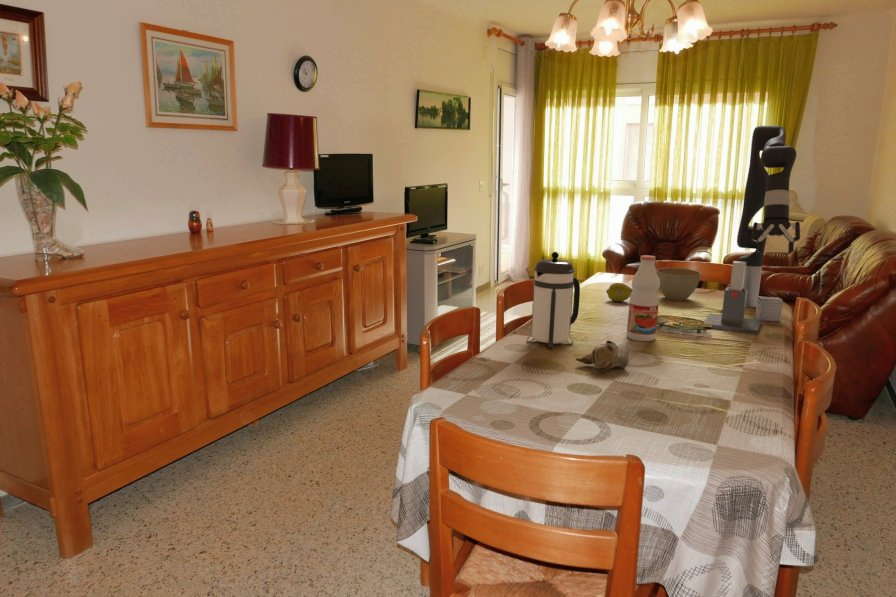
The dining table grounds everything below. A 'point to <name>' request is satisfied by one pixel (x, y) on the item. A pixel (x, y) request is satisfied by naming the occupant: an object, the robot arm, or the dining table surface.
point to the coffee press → (554, 301)
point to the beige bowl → (678, 282)
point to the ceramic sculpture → (607, 356)
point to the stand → (734, 314)
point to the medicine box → (768, 308)
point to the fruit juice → (644, 301)
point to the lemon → (619, 292)
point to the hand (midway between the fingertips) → (775, 253)
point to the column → (737, 276)
